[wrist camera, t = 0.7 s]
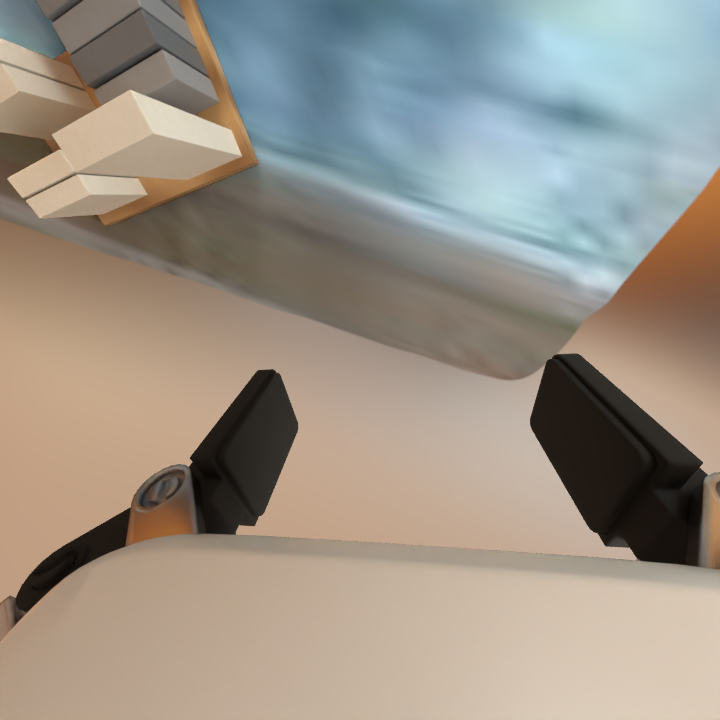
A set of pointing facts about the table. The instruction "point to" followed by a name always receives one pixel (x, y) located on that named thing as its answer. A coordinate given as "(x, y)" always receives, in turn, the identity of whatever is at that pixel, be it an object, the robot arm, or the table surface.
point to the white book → (145, 140)
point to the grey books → (133, 50)
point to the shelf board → (218, 114)
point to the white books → (42, 119)
